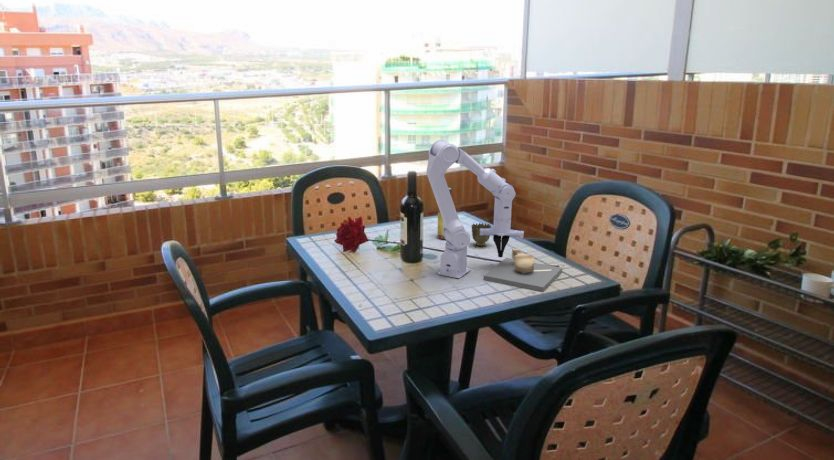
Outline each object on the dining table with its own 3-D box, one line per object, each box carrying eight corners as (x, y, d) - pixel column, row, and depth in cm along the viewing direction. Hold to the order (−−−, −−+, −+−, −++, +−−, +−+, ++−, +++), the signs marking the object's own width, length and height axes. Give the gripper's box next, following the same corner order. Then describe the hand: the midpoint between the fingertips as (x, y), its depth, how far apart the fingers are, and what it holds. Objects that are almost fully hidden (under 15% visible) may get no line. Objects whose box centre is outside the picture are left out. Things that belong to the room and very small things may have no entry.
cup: (491, 248, 229) (492, 228, 227) (471, 248, 229) (472, 228, 227) (489, 242, 236) (490, 222, 234) (470, 242, 236) (471, 222, 234)
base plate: (543, 291, 189) (543, 285, 189) (483, 279, 199) (483, 273, 198) (562, 271, 206) (562, 266, 206) (506, 261, 216) (506, 256, 215)
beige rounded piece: (536, 271, 199) (537, 259, 198) (517, 272, 198) (518, 261, 197) (523, 258, 211) (523, 247, 210) (505, 259, 210) (505, 248, 209)
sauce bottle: (452, 240, 238) (453, 190, 232) (436, 239, 239) (436, 190, 233) (454, 235, 244) (455, 187, 238) (438, 234, 245) (439, 186, 240)
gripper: (479, 219, 203) (477, 258, 207) (523, 222, 200) (521, 261, 204) (481, 214, 209) (480, 251, 213) (524, 216, 207) (522, 255, 211)
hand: (500, 256), depth 209 cm, fingers closed
